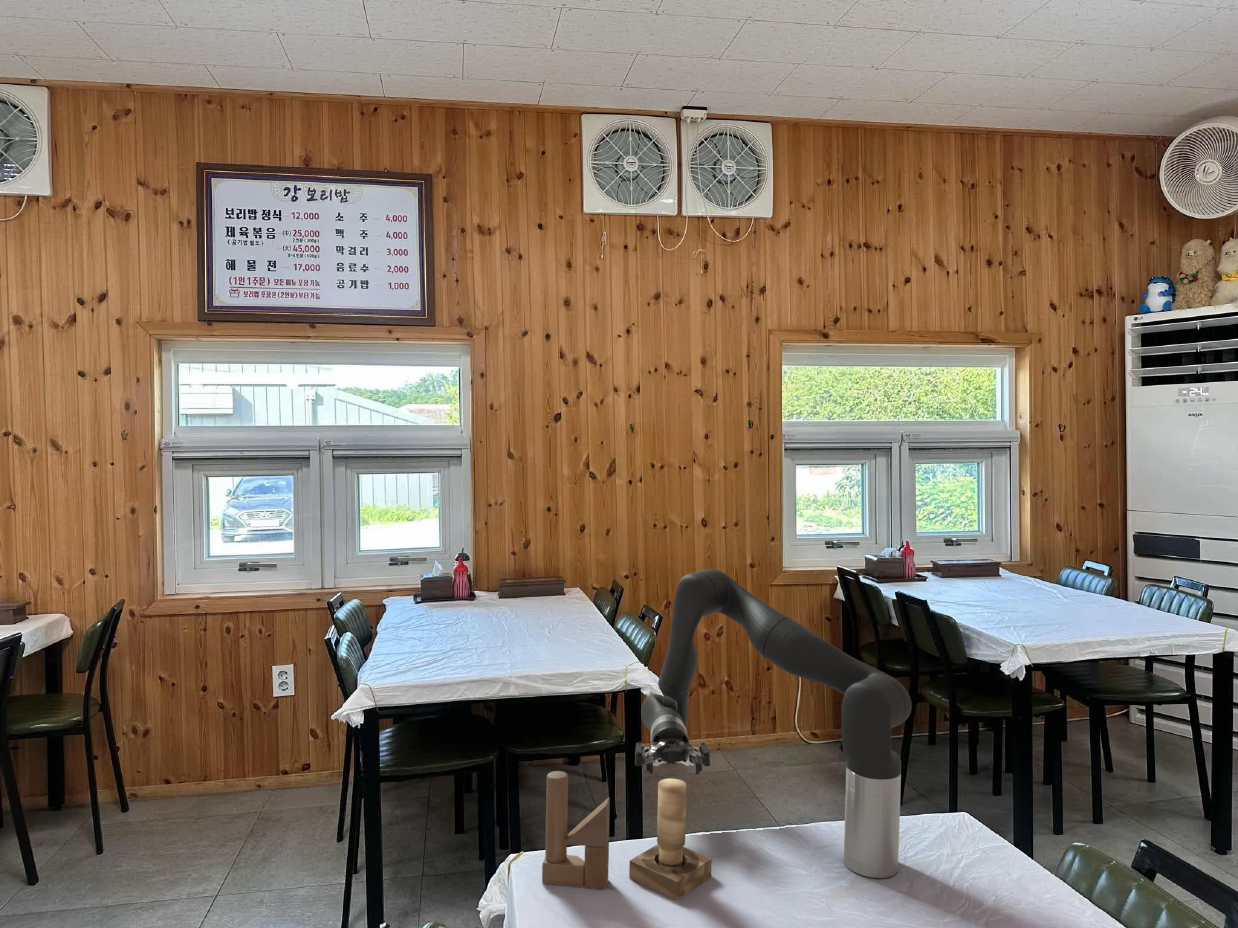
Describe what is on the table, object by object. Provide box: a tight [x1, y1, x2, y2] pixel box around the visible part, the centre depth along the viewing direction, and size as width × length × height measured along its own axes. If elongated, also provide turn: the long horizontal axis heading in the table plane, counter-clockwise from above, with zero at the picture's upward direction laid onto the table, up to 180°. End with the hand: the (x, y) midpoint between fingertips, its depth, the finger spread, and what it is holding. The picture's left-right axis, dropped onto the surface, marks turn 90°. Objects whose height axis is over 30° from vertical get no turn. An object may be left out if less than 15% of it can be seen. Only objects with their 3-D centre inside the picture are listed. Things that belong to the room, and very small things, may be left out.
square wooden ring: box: [628, 843, 713, 901], centre depth 140 cm, size 10×10×3 cm
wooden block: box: [541, 770, 611, 890], centre depth 138 cm, size 4×11×18 cm, turn 81°
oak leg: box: [656, 778, 687, 868], centre depth 140 cm, size 5×5×16 cm
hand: (674, 768), depth 151 cm, fingers open, 8 cm apart
